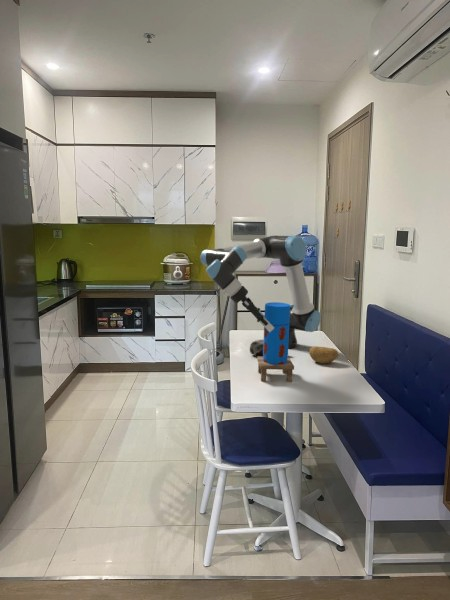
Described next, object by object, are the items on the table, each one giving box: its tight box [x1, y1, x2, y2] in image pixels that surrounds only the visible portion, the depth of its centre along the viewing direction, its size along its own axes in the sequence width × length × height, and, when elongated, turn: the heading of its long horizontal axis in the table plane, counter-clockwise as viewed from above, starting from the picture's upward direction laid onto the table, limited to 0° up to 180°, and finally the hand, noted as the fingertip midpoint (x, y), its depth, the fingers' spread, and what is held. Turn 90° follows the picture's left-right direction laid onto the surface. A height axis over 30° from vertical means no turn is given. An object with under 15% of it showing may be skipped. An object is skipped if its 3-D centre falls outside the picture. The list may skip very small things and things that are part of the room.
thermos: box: [263, 301, 290, 365], centre depth 187 cm, size 11×11×25 cm
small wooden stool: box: [256, 356, 295, 383], centre depth 189 cm, size 14×14×7 cm
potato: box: [308, 345, 339, 365], centre depth 211 cm, size 10×14×8 cm
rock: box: [249, 338, 264, 358], centre depth 221 cm, size 18×11×8 cm, turn 121°
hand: (269, 326), depth 186 cm, fingers open, 13 cm apart
